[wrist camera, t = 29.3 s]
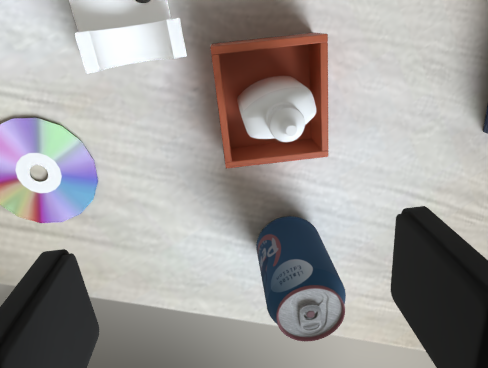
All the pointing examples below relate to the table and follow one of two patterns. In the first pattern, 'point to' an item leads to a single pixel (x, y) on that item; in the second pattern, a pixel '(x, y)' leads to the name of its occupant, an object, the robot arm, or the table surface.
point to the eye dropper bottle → (276, 108)
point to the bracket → (125, 32)
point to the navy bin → (486, 122)
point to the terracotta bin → (260, 67)
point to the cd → (54, 161)
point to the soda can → (299, 280)
